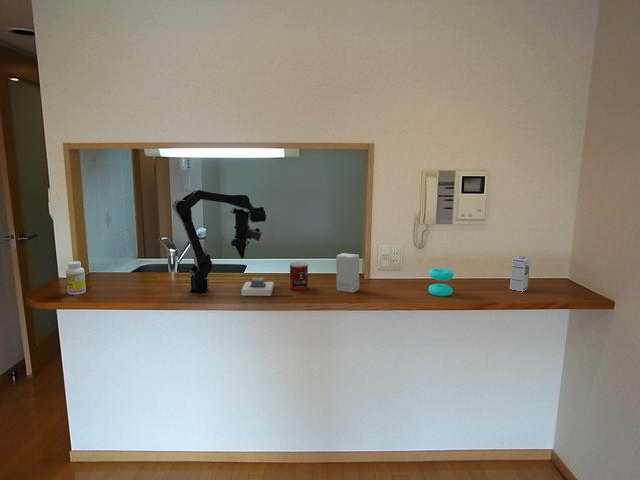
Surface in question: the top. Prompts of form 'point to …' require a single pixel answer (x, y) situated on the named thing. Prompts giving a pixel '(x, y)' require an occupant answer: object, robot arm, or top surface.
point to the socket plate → (257, 289)
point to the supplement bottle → (75, 278)
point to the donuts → (441, 288)
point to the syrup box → (519, 273)
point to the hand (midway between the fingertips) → (242, 258)
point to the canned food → (298, 276)
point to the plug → (258, 283)
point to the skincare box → (347, 272)
